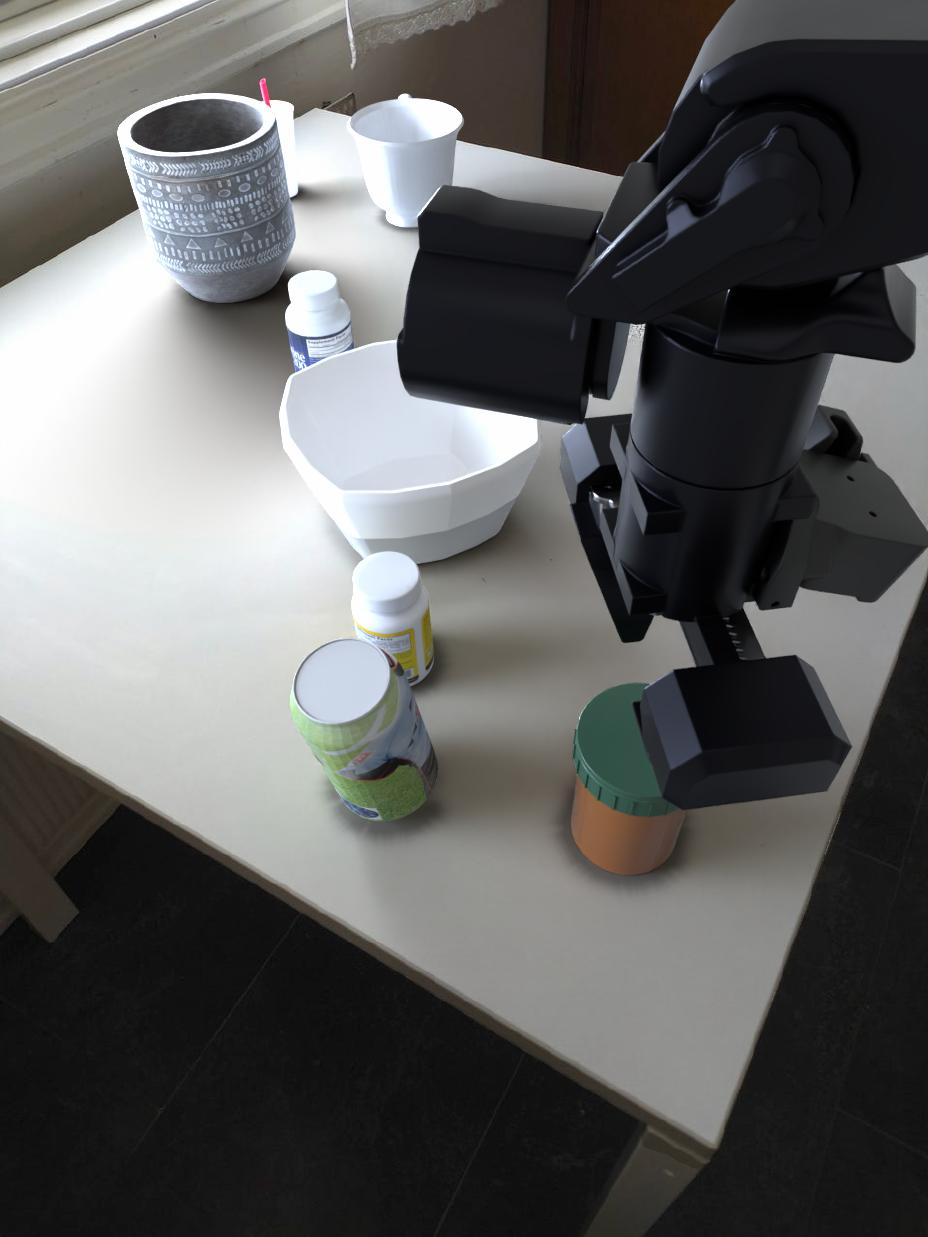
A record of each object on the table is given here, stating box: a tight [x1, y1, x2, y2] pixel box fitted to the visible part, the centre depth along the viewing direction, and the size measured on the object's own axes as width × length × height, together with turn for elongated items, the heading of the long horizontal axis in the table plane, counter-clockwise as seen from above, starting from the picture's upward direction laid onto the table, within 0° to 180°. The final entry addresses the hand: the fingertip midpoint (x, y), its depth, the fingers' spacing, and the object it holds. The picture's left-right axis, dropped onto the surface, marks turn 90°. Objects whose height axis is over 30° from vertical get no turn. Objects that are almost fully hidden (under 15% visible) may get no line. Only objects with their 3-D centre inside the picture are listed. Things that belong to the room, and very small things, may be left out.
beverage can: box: [289, 637, 439, 822], centre depth 49 cm, size 6×7×12 cm
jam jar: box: [570, 774, 688, 876], centre depth 48 cm, size 6×6×9 cm
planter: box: [117, 93, 297, 304], centre depth 87 cm, size 14×14×15 cm
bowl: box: [279, 339, 543, 565], centre depth 65 cm, size 18×18×9 cm
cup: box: [259, 78, 299, 198], centre depth 100 cm, size 5×5×12 cm
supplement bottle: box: [351, 552, 435, 687], centre depth 56 cm, size 5×5×8 cm
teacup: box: [346, 93, 465, 229], centre depth 98 cm, size 12×15×10 cm
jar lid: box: [571, 682, 680, 818], centre depth 45 cm, size 7×7×2 cm
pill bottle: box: [284, 269, 356, 373], centre depth 76 cm, size 5×5×10 cm
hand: (652, 703), depth 42 cm, fingers open, 7 cm apart
